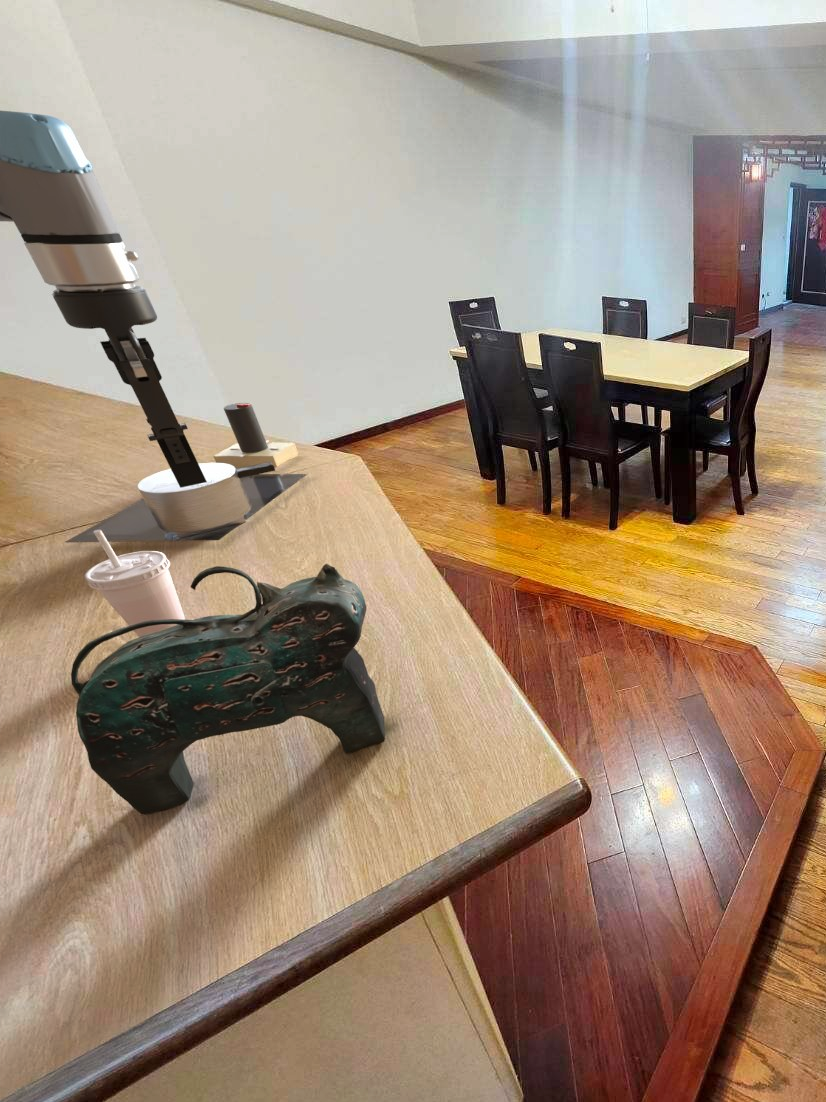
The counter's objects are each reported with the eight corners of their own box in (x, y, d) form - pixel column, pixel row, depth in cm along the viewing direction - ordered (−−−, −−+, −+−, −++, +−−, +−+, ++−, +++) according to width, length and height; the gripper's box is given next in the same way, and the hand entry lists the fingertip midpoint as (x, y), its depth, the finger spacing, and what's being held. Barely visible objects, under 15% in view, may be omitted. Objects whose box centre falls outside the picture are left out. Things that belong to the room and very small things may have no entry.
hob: (66, 545, 82) (64, 542, 82) (187, 476, 103) (185, 474, 103) (220, 542, 84) (218, 539, 84) (308, 476, 105) (307, 473, 105)
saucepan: (166, 546, 82) (141, 500, 78) (156, 519, 89) (133, 475, 85) (296, 513, 92) (279, 470, 88) (279, 491, 98) (262, 450, 95)
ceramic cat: (404, 705, 59) (342, 530, 49) (407, 751, 54) (339, 568, 44) (146, 779, 51) (6, 587, 40) (122, 841, 46) (-44, 642, 36)
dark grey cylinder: (236, 452, 106) (217, 407, 102) (249, 444, 110) (231, 401, 106) (259, 452, 107) (241, 407, 103) (272, 445, 110) (255, 401, 106)
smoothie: (128, 636, 66) (59, 527, 59) (200, 614, 70) (144, 509, 63) (132, 664, 62) (59, 551, 55) (208, 639, 66) (150, 530, 59)
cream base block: (216, 470, 106) (210, 456, 104) (244, 453, 113) (239, 440, 111) (276, 470, 107) (270, 456, 105) (300, 453, 114) (295, 440, 112)
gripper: (149, 290, 63) (238, 490, 75) (136, 278, 71) (219, 462, 83) (49, 295, 58) (161, 508, 70) (47, 282, 66) (149, 476, 78)
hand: (192, 483), depth 77 cm, fingers closed
